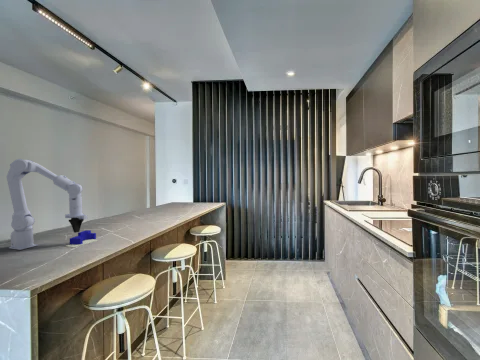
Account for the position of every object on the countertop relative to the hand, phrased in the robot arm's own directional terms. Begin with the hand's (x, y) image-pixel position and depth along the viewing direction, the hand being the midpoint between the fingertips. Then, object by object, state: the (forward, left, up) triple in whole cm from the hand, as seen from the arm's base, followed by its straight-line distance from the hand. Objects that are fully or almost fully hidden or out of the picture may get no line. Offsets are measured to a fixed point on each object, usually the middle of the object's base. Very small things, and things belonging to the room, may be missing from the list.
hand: (76, 232), depth 136 cm
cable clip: (-1, +1, -3) cm, 4 cm away
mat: (+4, 0, -6) cm, 7 cm away
